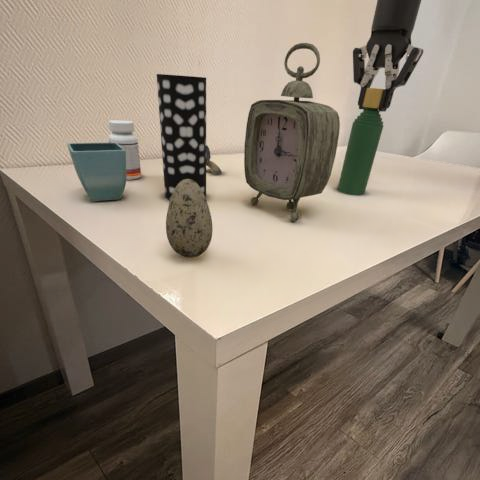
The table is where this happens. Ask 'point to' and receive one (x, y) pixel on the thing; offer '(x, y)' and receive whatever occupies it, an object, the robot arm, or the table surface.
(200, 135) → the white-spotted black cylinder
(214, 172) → the eagle figurine
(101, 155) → the flower pot
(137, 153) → the pill bottle
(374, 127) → the bottle
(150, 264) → the table surface
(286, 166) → the tabletop clock
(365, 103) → the cap
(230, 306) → the table surface
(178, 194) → the decorative egg
